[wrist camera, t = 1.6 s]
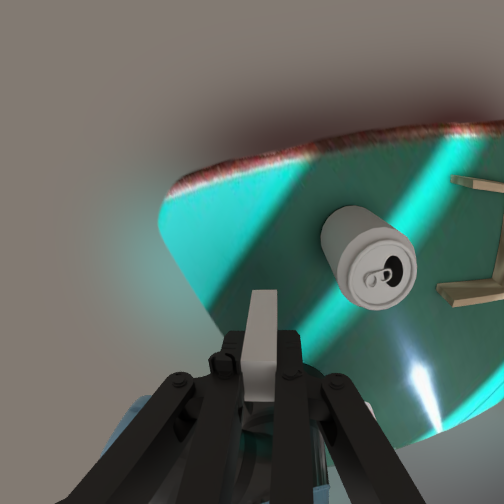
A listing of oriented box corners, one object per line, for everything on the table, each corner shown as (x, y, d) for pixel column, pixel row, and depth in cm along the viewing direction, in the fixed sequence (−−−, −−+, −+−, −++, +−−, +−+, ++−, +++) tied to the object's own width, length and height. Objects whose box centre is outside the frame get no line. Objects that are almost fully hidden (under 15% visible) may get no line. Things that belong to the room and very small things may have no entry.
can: (383, 255, 32) (425, 303, 21) (326, 272, 34) (348, 328, 22) (373, 197, 30) (421, 222, 19) (312, 213, 31) (332, 247, 20)
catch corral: (493, 283, 32) (511, 297, 28) (435, 289, 33) (452, 307, 29) (510, 184, 27) (531, 190, 22) (450, 174, 28) (473, 179, 23)
